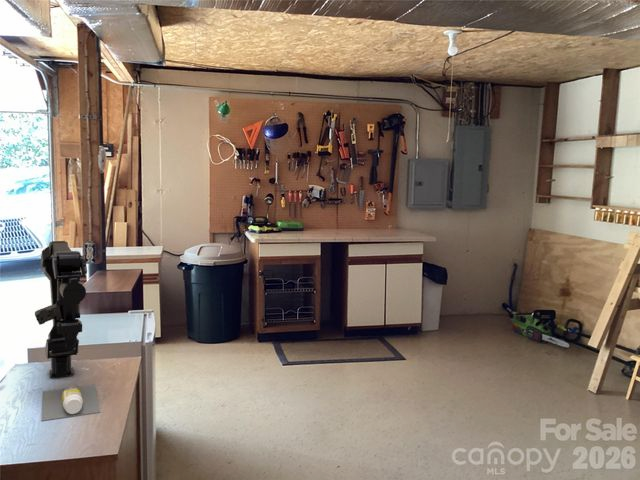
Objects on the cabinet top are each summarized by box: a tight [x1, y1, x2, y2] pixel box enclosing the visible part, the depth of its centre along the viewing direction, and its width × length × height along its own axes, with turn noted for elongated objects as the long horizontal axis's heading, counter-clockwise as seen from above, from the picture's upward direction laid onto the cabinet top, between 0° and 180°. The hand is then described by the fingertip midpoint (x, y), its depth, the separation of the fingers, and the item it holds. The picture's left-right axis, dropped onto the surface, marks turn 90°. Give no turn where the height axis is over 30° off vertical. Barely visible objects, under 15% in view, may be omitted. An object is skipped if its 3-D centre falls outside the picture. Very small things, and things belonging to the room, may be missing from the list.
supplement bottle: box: [62, 386, 83, 414], centre depth 141 cm, size 5×5×8 cm
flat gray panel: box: [40, 384, 101, 422], centre depth 146 cm, size 20×14×1 cm
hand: (69, 348), depth 150 cm, fingers closed
